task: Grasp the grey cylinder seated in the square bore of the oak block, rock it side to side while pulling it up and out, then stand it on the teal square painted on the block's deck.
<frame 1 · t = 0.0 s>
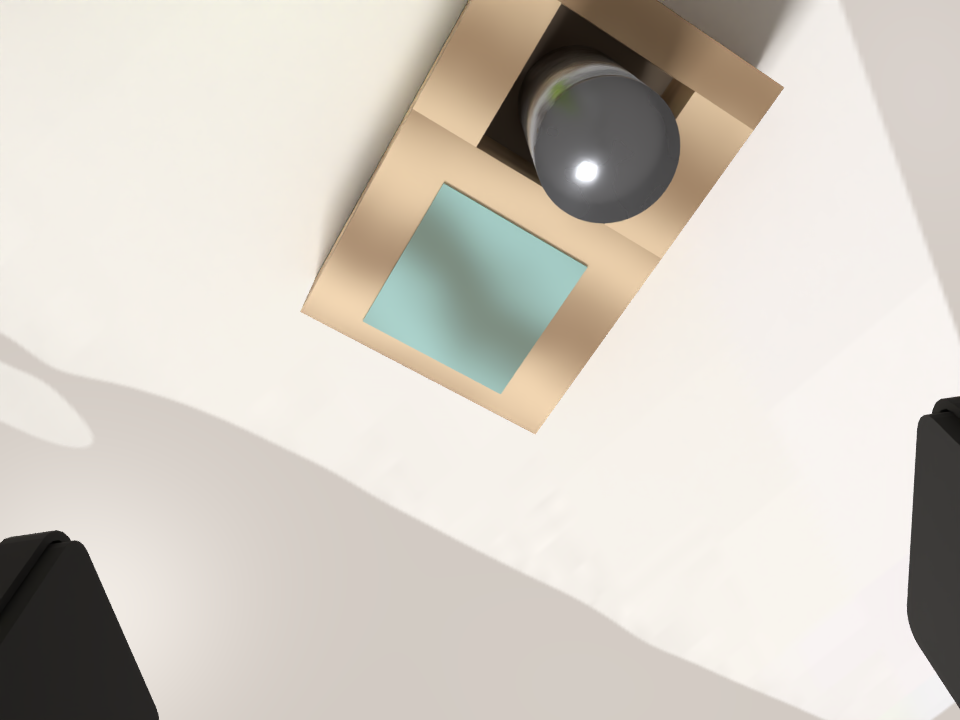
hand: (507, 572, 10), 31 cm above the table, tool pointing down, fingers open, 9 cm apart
housing: (523, 181, 39), on the table
grey cylinder: (573, 103, 38), resting on housing
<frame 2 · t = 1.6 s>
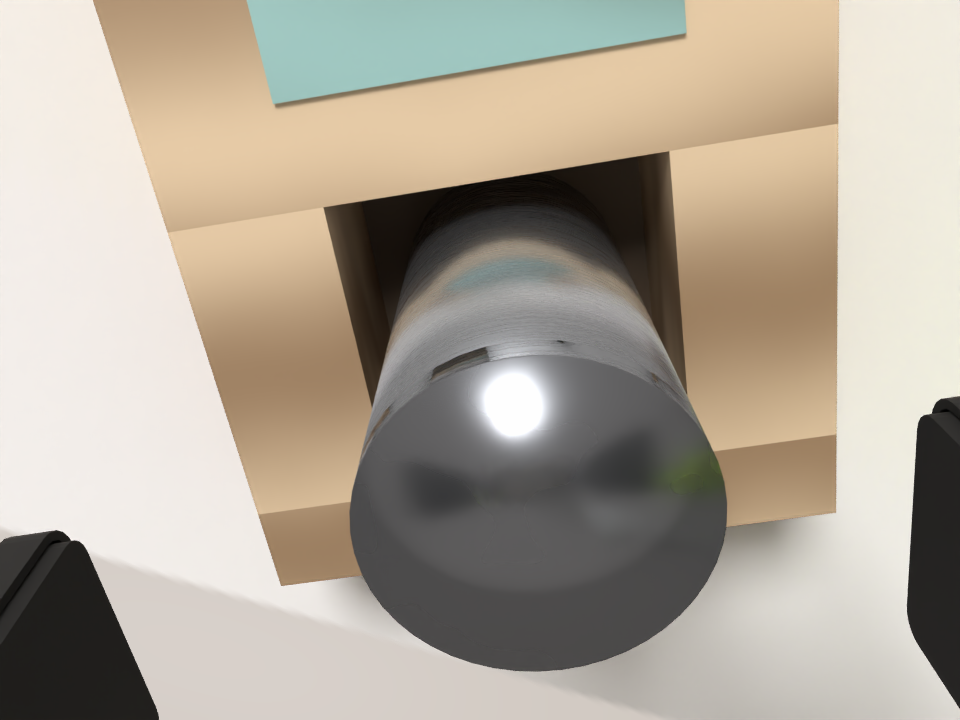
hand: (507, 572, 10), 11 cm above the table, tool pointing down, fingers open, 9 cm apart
housing: (485, 95, 19), on the table
grey cylinder: (512, 272, 20), resting on housing
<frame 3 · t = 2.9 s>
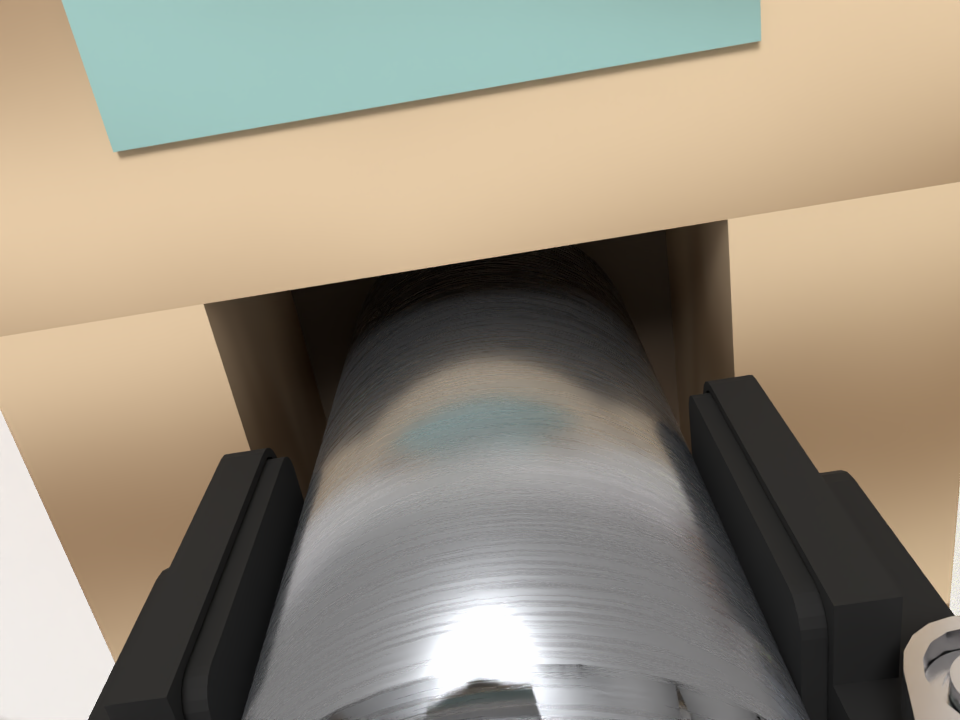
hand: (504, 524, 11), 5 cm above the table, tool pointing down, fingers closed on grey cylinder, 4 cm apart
housing: (452, 122, 13), on the table
grey cylinder: (492, 357, 15), resting on housing, touching gripper
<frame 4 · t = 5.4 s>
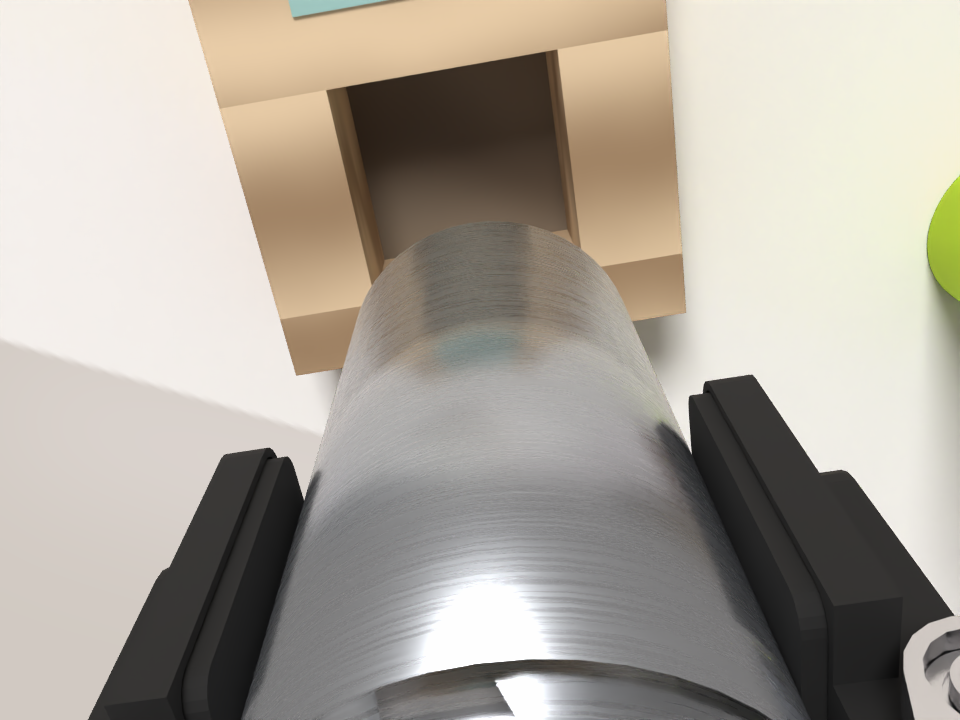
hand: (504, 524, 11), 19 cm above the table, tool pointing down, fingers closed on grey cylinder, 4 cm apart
housing: (436, 20, 26), on the table
grey cylinder: (492, 356, 15), point 15 cm above the table, touching gripper
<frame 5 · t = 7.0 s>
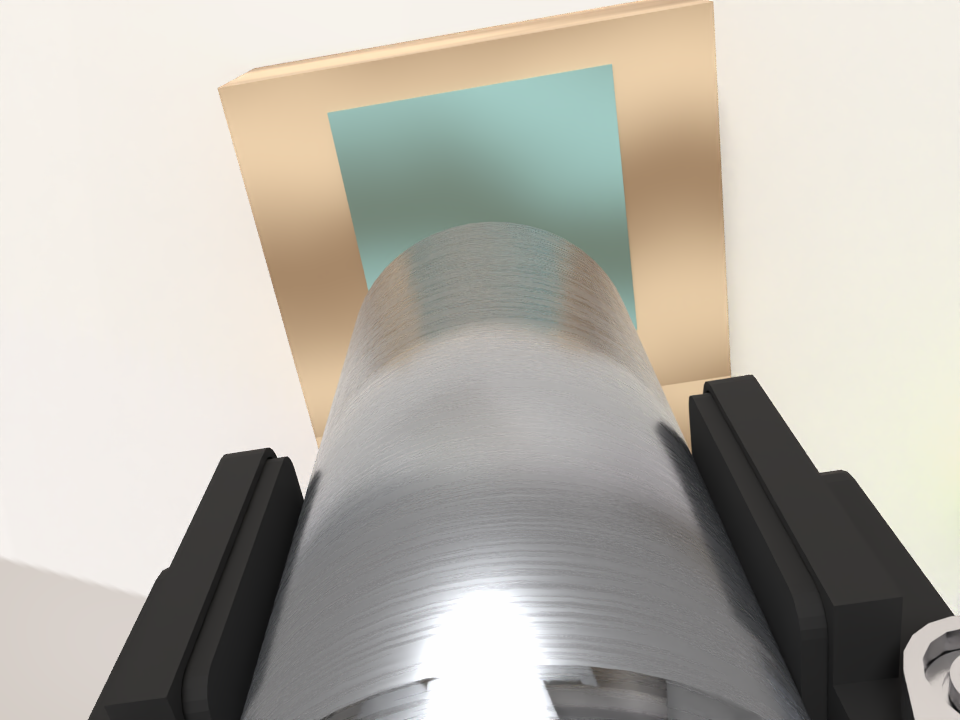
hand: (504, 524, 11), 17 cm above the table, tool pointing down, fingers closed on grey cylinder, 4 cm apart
housing: (509, 324, 28), on the table
grey cylinder: (492, 357, 15), point 12 cm above the table, touching gripper
when the fingers open (10 cm above the table, at t = 8.3 s): grey cylinder drops 1 cm, resting on housing.
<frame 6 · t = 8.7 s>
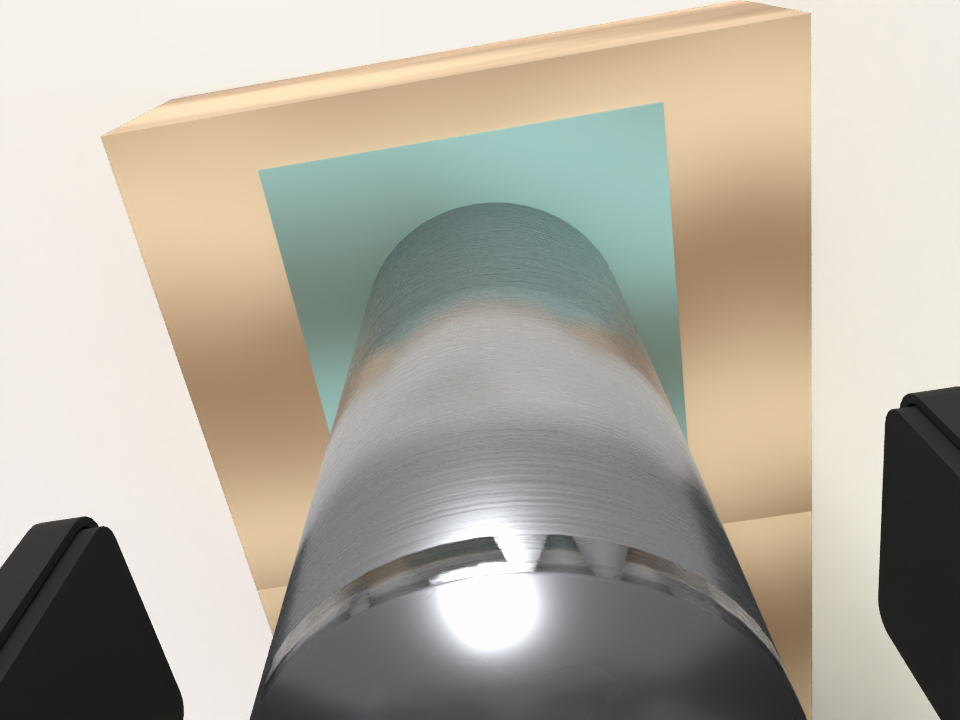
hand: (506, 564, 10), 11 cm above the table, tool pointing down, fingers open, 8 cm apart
housing: (513, 423, 22), on the table
grey cylinder: (494, 327, 16), point 4 cm above the table, touching housing
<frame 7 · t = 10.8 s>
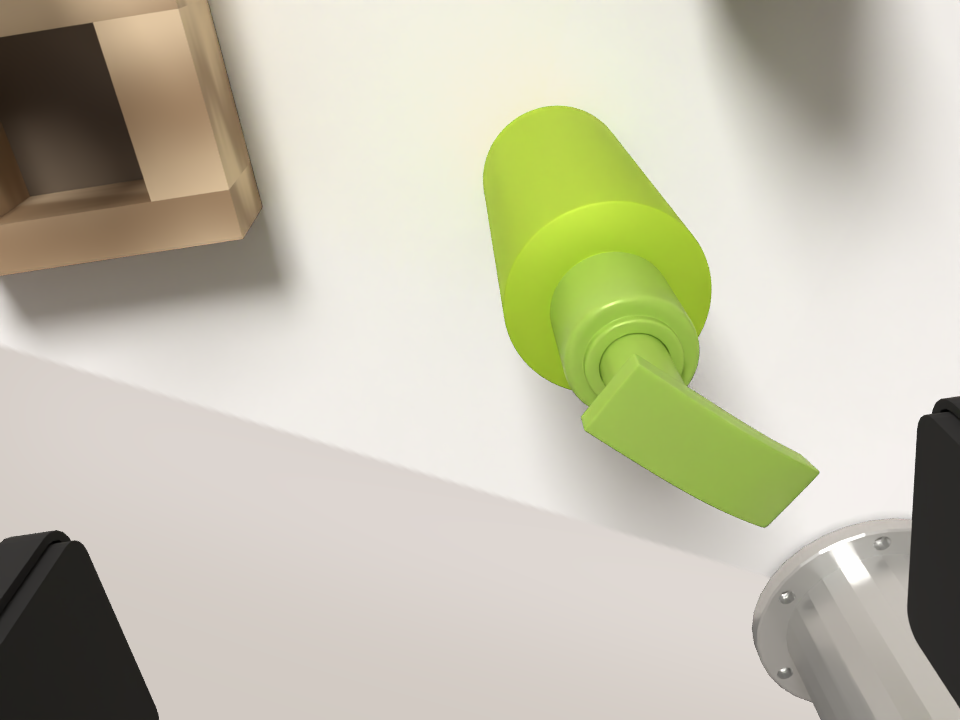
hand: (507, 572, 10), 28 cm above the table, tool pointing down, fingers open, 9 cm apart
soap dispenser: (563, 183, 37), on the table
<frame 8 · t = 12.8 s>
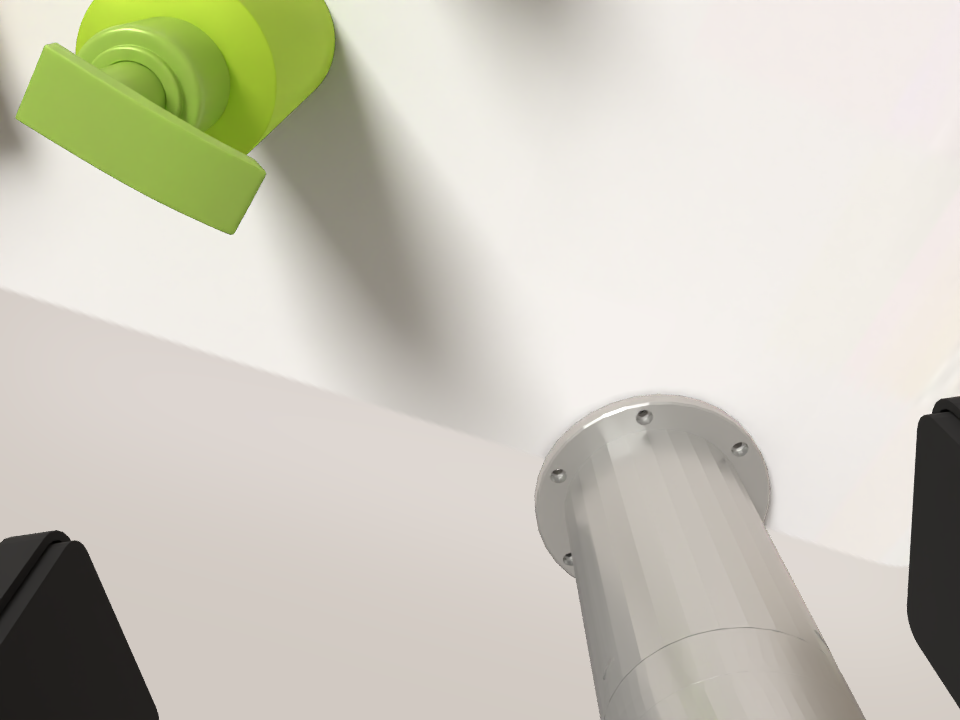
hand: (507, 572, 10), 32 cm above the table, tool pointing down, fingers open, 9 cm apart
soap dispenser: (278, 42, 38), on the table
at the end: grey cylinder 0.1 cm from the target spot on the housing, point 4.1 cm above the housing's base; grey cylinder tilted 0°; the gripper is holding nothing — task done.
